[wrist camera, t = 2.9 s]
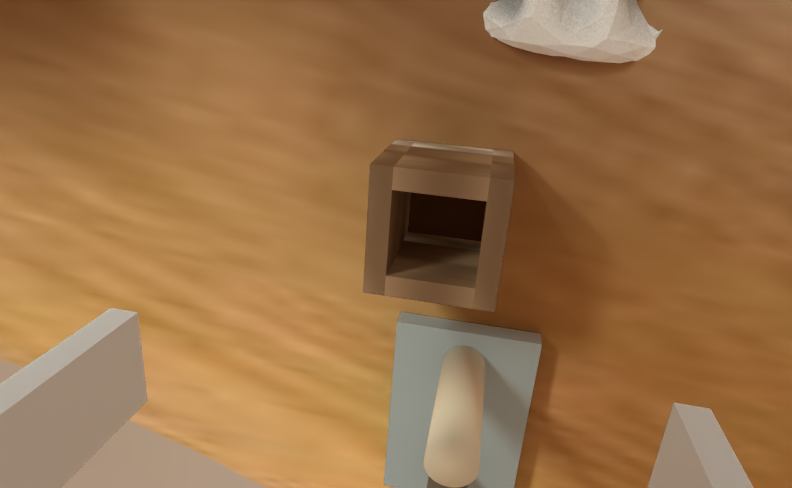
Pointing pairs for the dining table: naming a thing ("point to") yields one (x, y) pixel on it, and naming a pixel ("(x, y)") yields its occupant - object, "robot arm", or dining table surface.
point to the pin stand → (458, 403)
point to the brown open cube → (429, 254)
